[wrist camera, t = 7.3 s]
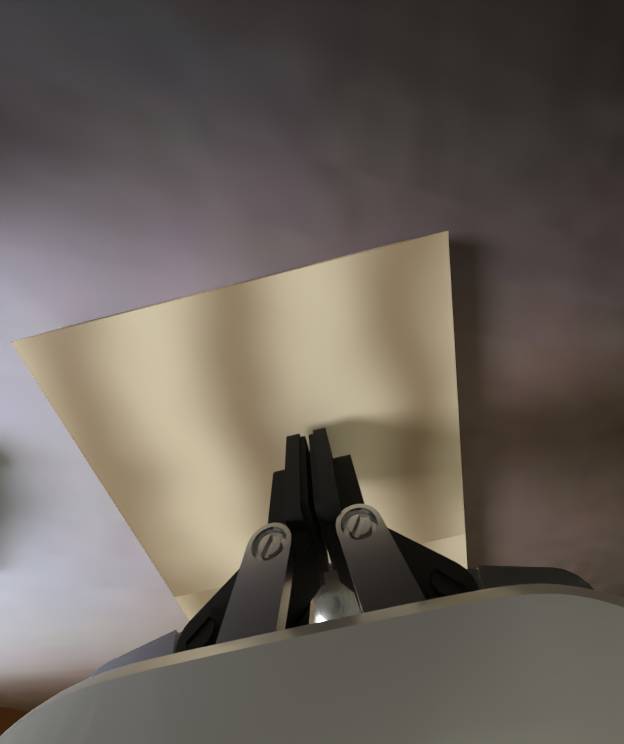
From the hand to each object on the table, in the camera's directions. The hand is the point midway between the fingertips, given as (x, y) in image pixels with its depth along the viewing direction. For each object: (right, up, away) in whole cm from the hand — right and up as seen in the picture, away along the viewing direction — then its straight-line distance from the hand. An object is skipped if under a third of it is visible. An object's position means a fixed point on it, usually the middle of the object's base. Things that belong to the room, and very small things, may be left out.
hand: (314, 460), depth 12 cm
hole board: (-1, -3, +5) cm, 6 cm away
